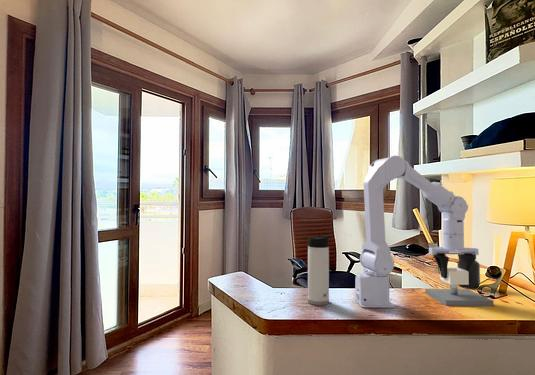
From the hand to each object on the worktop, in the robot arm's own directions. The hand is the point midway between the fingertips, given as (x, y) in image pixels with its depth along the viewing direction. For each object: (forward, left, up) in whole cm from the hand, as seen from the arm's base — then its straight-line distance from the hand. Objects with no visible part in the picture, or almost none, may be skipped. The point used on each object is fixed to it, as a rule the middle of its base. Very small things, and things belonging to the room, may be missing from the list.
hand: (453, 277), depth 99 cm
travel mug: (-43, -4, -7) cm, 44 cm away
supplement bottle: (+14, +15, -7) cm, 22 cm away
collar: (0, 0, -1) cm, 1 cm away
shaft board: (+1, 0, -7) cm, 7 cm away
